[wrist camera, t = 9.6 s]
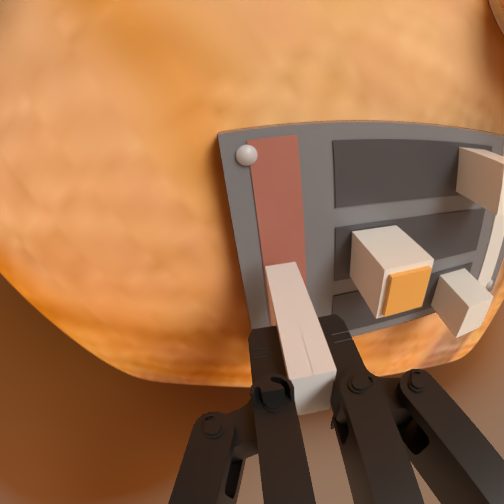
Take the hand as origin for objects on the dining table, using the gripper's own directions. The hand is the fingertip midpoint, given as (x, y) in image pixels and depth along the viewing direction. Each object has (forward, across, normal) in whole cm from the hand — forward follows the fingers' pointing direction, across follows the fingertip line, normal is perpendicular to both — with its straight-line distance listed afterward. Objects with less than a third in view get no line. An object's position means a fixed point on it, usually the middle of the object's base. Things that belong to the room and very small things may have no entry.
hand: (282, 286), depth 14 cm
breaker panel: (+4, +10, 0) cm, 11 cm away
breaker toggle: (+2, +6, 0) cm, 6 cm away
